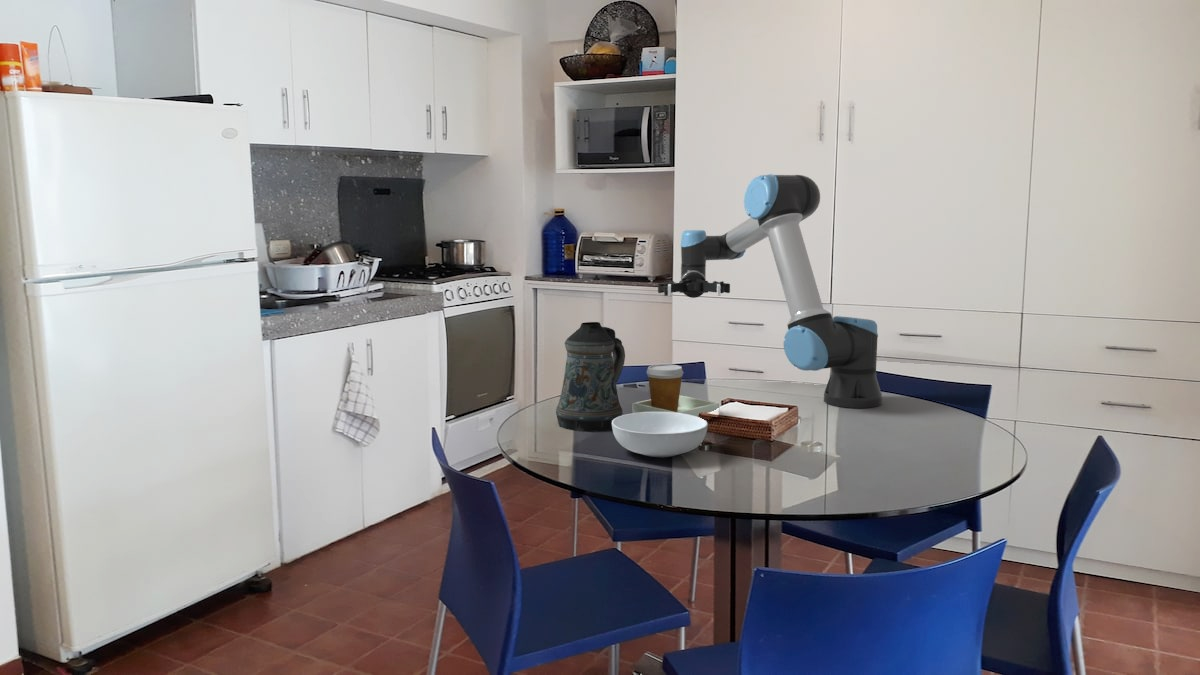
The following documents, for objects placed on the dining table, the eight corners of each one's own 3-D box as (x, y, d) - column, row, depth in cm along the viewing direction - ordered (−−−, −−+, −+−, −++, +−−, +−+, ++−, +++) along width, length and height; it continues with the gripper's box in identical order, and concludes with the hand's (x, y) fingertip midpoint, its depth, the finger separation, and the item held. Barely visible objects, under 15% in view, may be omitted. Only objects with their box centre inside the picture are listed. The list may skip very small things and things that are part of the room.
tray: (719, 416, 226) (719, 403, 226) (676, 427, 216) (676, 413, 216) (674, 406, 238) (674, 394, 237) (632, 416, 228) (632, 403, 227)
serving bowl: (719, 462, 187) (719, 430, 186) (621, 468, 183) (621, 435, 182) (693, 437, 207) (693, 408, 206) (604, 442, 204) (604, 412, 203)
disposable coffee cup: (686, 410, 231) (686, 364, 230) (680, 418, 222) (680, 371, 221) (650, 408, 234) (650, 363, 232) (642, 416, 225) (642, 369, 223)
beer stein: (547, 429, 216) (545, 327, 212) (571, 411, 234) (569, 317, 230) (613, 433, 211) (612, 329, 208) (632, 414, 230) (631, 318, 226)
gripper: (735, 296, 264) (739, 304, 243) (651, 296, 267) (648, 304, 246) (735, 271, 263) (740, 277, 242) (651, 271, 266) (648, 277, 245)
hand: (694, 290), depth 244 cm, fingers open, 13 cm apart
